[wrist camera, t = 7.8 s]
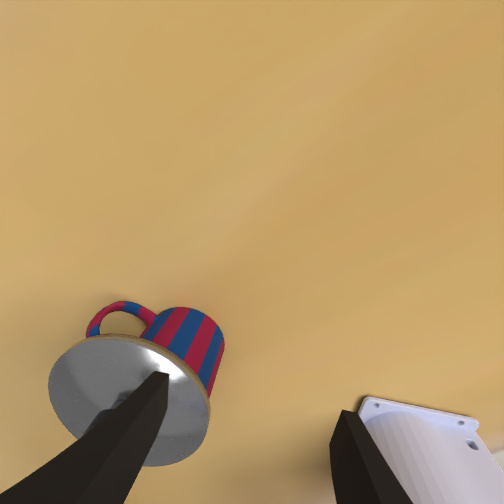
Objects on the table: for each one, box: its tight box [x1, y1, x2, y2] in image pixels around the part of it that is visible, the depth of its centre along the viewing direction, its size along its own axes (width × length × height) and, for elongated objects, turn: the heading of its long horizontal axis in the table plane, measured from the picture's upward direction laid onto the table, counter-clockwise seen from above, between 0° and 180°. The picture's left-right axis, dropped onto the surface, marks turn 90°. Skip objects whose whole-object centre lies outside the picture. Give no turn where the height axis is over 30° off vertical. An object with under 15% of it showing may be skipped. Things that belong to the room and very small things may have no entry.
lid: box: [48, 334, 210, 466], centre depth 15 cm, size 10×10×4 cm
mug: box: [86, 301, 225, 398], centre depth 20 cm, size 7×10×7 cm
